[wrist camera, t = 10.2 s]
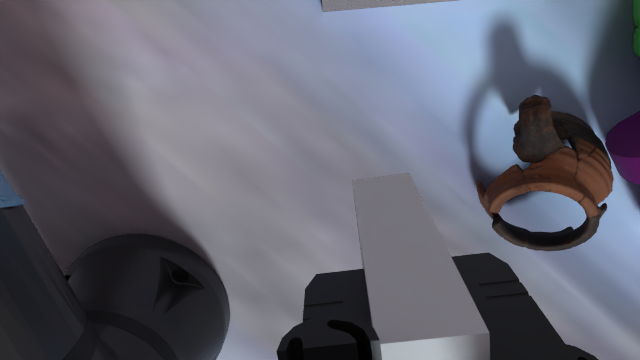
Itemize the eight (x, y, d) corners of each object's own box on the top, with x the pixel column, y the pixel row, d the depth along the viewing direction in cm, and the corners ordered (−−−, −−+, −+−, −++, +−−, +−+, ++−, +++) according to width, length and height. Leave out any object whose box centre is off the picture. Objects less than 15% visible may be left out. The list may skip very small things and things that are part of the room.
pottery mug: (616, 175, 39) (628, 255, 34) (497, 192, 44) (492, 263, 39) (588, 51, 33) (597, 123, 28) (454, 87, 38) (440, 154, 33)
